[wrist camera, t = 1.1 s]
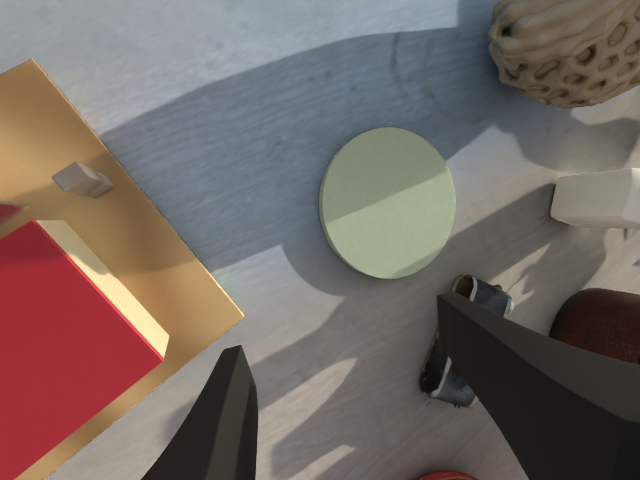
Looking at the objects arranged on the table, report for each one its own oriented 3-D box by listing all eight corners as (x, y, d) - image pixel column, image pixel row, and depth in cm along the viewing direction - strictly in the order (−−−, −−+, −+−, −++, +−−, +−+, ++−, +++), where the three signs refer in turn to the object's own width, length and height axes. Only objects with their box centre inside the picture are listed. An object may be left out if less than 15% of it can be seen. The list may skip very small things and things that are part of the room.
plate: (373, 307, 27) (378, 309, 26) (287, 185, 24) (290, 184, 23) (471, 220, 29) (478, 220, 28) (403, 101, 26) (408, 97, 26)
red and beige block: (8, 461, 19) (-39, 521, 15) (-131, 344, 17) (-226, 380, 13) (169, 336, 21) (163, 361, 17) (64, 219, 19) (31, 219, 15)
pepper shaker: (545, 218, 32) (682, 217, 23) (555, 175, 32) (695, 156, 23) (576, 228, 33) (717, 232, 24) (585, 187, 33) (729, 174, 24)
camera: (502, 289, 30) (548, 300, 27) (460, 404, 30) (500, 433, 26) (458, 268, 29) (500, 276, 25) (412, 389, 28) (448, 417, 24)
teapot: (438, 146, 27) (695, 66, 13) (407, -12, 26) (660, -294, 12) (621, 103, 34) (928, 18, 20) (605, -26, 32) (925, -220, 18)
